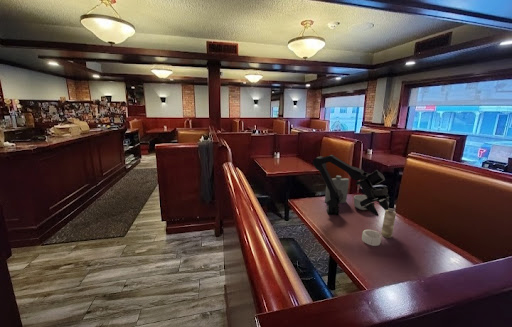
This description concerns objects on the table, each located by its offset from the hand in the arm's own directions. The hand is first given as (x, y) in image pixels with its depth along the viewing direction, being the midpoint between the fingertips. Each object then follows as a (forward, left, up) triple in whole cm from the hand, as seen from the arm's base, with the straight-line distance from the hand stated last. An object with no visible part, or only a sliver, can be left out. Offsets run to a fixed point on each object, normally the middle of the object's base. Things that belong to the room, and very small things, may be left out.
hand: (383, 214), depth 123 cm
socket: (-8, -10, -11) cm, 17 cm away
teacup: (-1, +31, -11) cm, 33 cm away
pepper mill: (+2, -3, -11) cm, 12 cm away
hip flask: (-18, +37, -11) cm, 43 cm away
